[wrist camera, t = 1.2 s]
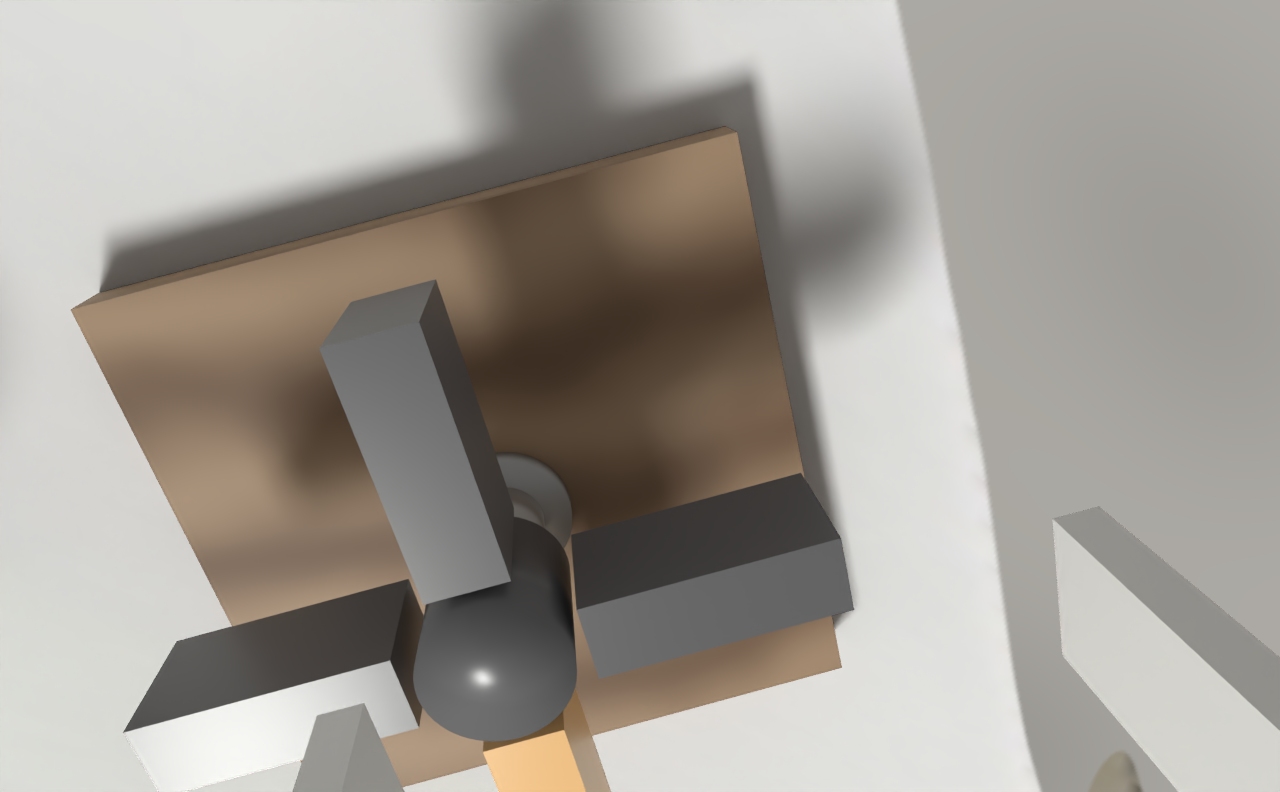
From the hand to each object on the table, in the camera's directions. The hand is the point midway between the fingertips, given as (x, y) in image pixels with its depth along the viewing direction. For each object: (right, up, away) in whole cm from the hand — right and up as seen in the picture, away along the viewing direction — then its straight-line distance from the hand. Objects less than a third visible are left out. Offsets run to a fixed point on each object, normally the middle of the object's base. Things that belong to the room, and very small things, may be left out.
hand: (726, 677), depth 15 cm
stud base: (-6, +1, +21) cm, 22 cm away
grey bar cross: (-6, -1, +15) cm, 16 cm away
